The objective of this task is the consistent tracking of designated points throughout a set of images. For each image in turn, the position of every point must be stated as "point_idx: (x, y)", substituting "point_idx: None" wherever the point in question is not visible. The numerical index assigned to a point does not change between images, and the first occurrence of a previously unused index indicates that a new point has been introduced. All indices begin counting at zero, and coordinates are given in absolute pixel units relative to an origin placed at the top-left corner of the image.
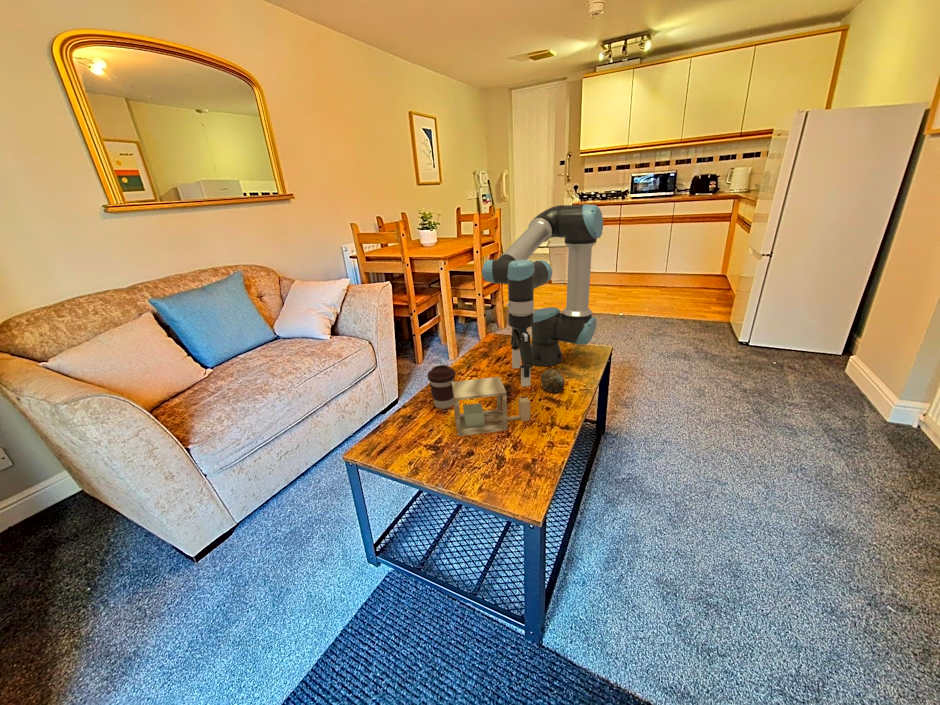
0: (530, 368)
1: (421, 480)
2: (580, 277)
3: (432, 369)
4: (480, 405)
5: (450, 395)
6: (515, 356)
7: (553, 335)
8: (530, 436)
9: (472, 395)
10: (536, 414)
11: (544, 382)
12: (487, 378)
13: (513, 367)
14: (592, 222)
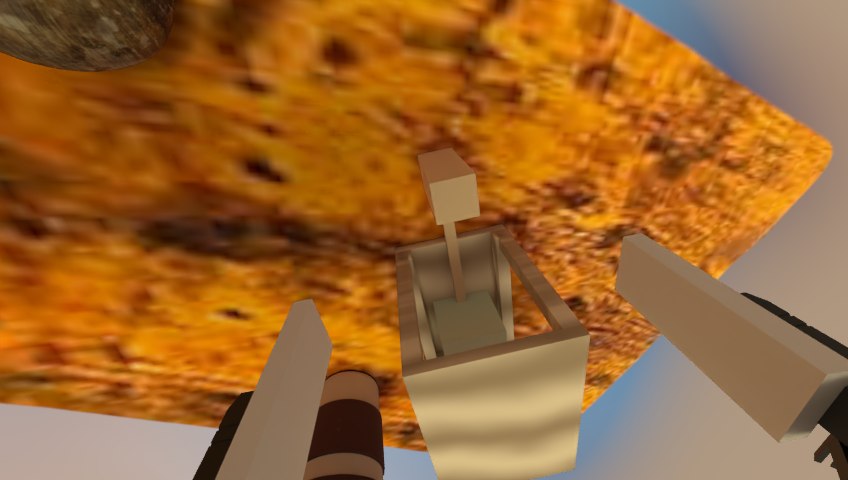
0: (820, 344)
1: (627, 366)
2: None
3: None
4: (458, 344)
5: (369, 416)
6: (298, 431)
7: None
8: (535, 150)
9: (571, 434)
10: (390, 116)
11: (131, 48)
12: (422, 416)
13: (330, 347)
14: None
